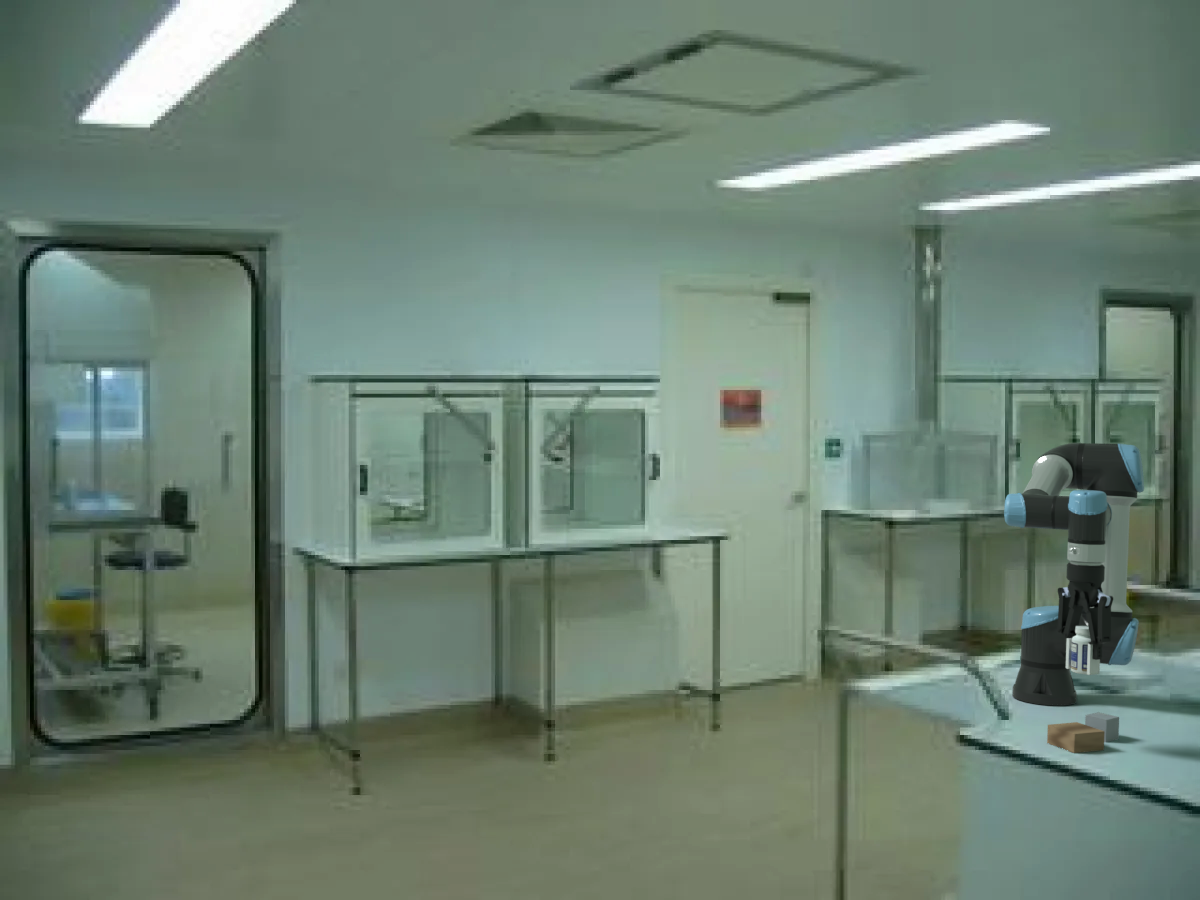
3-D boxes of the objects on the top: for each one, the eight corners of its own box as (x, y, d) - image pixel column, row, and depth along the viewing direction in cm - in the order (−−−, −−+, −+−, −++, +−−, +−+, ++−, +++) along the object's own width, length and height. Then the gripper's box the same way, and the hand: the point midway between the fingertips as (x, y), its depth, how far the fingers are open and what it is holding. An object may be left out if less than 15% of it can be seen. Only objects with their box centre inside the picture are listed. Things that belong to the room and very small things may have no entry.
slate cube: (1084, 737, 266) (1085, 715, 265) (1097, 734, 269) (1098, 712, 268) (1105, 742, 262) (1106, 719, 261) (1118, 739, 264) (1119, 716, 264)
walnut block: (1047, 743, 260) (1047, 724, 260) (1076, 740, 263) (1077, 722, 262) (1074, 753, 252) (1074, 734, 252) (1103, 750, 255) (1104, 731, 255)
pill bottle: (1101, 672, 257) (1102, 627, 257) (1092, 676, 253) (1094, 630, 253) (1075, 668, 261) (1077, 623, 260) (1067, 672, 257) (1068, 627, 256)
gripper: (1041, 558, 263) (1037, 663, 264) (1105, 569, 246) (1101, 681, 247) (1067, 557, 266) (1064, 661, 267) (1133, 568, 249) (1129, 679, 250)
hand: (1082, 670), depth 257 cm, fingers closed on pill bottle, 5 cm apart
